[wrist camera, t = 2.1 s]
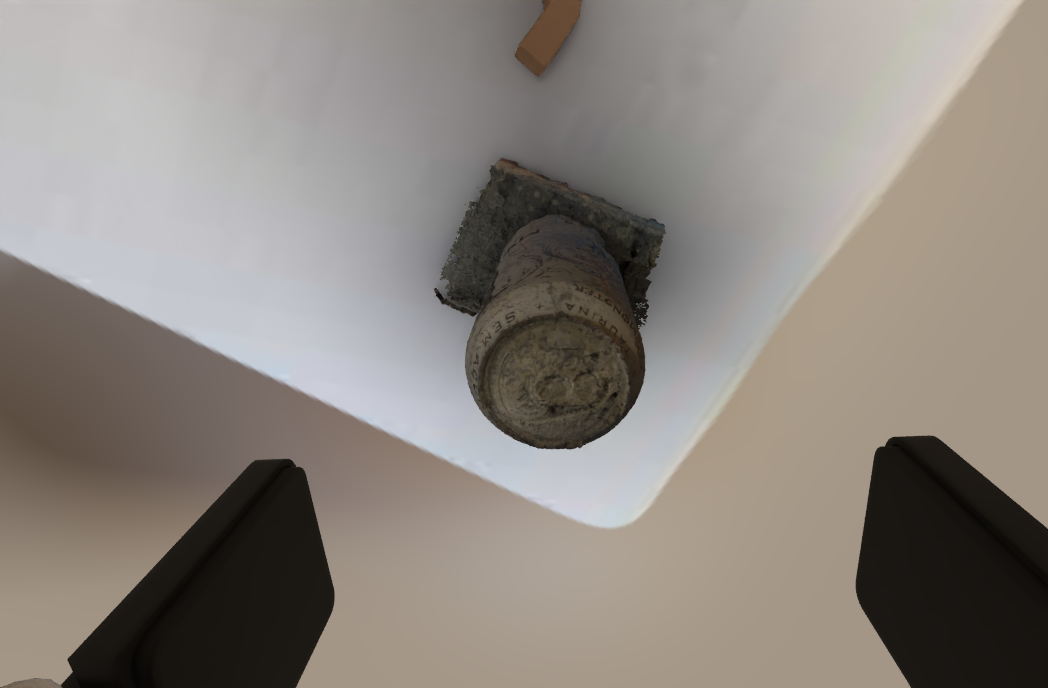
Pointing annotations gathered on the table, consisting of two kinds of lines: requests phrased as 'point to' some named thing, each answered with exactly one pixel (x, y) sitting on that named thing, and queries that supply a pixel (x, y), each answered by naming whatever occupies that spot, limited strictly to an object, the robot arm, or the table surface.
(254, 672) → the robot arm
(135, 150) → the table surface
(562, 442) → the small column statue
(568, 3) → the toilet paper hanger
